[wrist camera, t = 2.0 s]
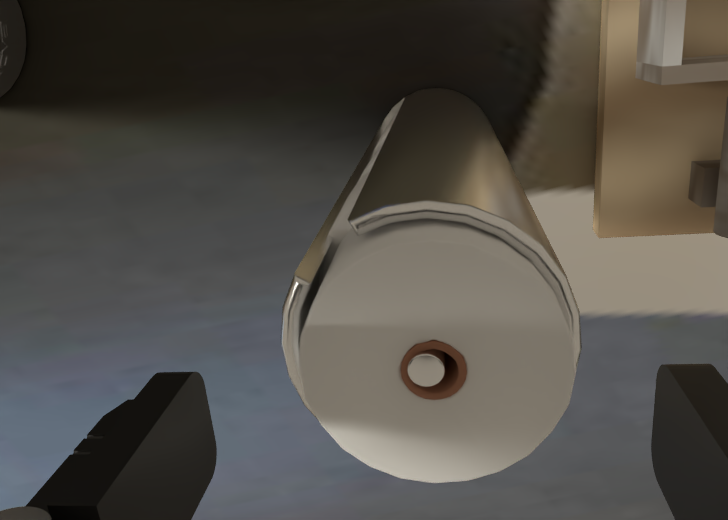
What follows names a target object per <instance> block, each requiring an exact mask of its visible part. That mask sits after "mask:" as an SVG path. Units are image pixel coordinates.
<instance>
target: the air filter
mask: <svg viewBox="0 0 728 520" xmlns="http://www.w3.org/2000/svg"><path fill="white" fill-rule="evenodd" d="M281 345H282V350H283V354H284V358H285V362H286V367H287V371H288V375H289V377H290V379H291V381H292V383H293V385H294V387H295V389H296V390H297V392H298V394H299V396H300V398H301V400H302V401H303V403H304V405H305V406H306V408H307V409H308V410H309V411H310V412H311V413H312V414H313V415H314V416H315V417H316V418H317V419H318V421H319V422H320V424H321V425H322V426H323V427H324V428H325V429H326V431H327V432H328V433H329V434H330V435H331V436H332V437H333V438H334V440H335V441H336V442H337V443H338V444H339V445H340V446H341V448H342V449H344V450H345V451H347V452H348V453H350V454H351V455H353V456H355V457H356V458H358V459H359V460H361V461H362V462H364V463H365V464H367V465H368V466H370V467H372V468H375V469H378V470H380V471H383V472H386V473H388V474H391V475H393V476H396V477H399V478H402V479H409V480H416V481H423V482H430V483H441V482H455V481H468V480H472V479H475V478H479V477H482V476H485V475H489V474H492V473H496V472H499V471H501V470H503V469H505V468H507V467H508V466H510V465H512V464H514V463H515V462H517V461H519V460H521V459H523V458H524V457H526V456H528V455H529V454H530V453H531V452H532V451H533V450H534V449H535V448H536V447H537V446H538V445H539V444H540V443H541V442H542V441H543V440H544V439H545V438H546V437H547V436H548V435H549V434H550V433H551V432H552V431H553V429H554V428H555V426H556V424H557V423H558V421H559V420H560V418H561V417H562V415H563V413H564V412H565V410H566V409H567V407H568V406H569V402H570V397H571V393H572V388H573V384H574V379H575V375H576V369H577V365H578V361H579V357H580V352H581V348H582V346H581V329H580V312H579V308H578V306H577V303H576V300H575V298H574V295H573V293H572V290H571V287H570V285H569V282H568V279H567V277H566V274H565V272H564V270H563V268H562V266H561V264H560V262H559V260H558V258H557V257H556V254H555V252H554V250H553V249H552V247H551V244H550V242H549V240H548V239H547V237H546V235H545V233H544V231H543V228H542V226H541V225H540V223H539V220H538V219H537V216H536V215H535V212H534V210H533V209H532V207H531V205H530V203H529V201H528V199H527V197H526V195H525V193H524V191H523V189H522V187H521V185H520V183H519V181H518V179H517V177H516V175H515V173H514V171H513V169H512V167H511V165H510V163H509V161H508V159H507V157H506V155H505V153H504V151H503V149H502V147H501V145H500V143H499V141H498V139H497V137H496V135H495V133H494V131H493V129H492V127H491V125H490V123H489V121H488V119H487V117H486V115H485V114H484V113H483V111H482V110H481V109H480V107H479V106H478V105H477V104H476V103H475V102H473V101H472V100H471V99H469V98H468V97H467V96H466V95H463V94H461V93H458V92H456V91H453V90H451V89H442V88H430V89H424V90H419V91H417V92H415V93H412V94H410V95H408V96H406V97H404V98H403V99H402V100H401V101H400V102H398V103H397V104H396V105H395V106H393V108H392V109H391V111H390V112H389V113H388V115H387V116H386V118H385V119H384V121H383V122H382V124H381V126H380V128H379V129H378V131H377V133H376V134H375V136H374V138H373V140H372V141H371V143H370V145H369V146H368V148H367V150H366V152H365V153H364V155H363V157H362V158H361V160H360V162H359V164H358V165H357V167H356V169H355V171H354V172H353V174H352V176H351V177H350V179H349V181H348V183H347V184H346V186H345V188H344V189H343V191H342V193H341V195H340V196H339V198H338V200H337V201H336V203H335V205H334V207H333V208H332V210H331V212H330V213H329V215H328V217H327V219H326V220H325V222H324V224H323V225H322V227H321V229H320V231H319V232H318V234H317V236H316V237H315V239H314V241H313V243H312V244H311V246H310V248H309V250H308V251H307V253H306V255H305V256H304V258H303V260H302V262H301V263H300V265H299V267H298V268H297V270H296V272H295V274H294V277H293V279H292V282H291V285H290V288H289V290H288V293H287V296H286V299H285V302H284V304H283V310H282V328H281Z"/></svg>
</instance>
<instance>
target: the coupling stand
mask: <svg viewBox="0 0 728 520" xmlns="http://www.w3.org/2000/svg"><path fill="white" fill-rule="evenodd" d="M593 230H594V232H595V233H596V234H597V236H598V237H599V238H609V237H631V236H654V235H674V234H675V235H676V234H697V233H698V234H699V233H715V234H717V235H719V236H722V237H726V238H728V0H602V5H601V32H600V58H599V85H598V111H597V138H596V164H595V190H594V217H593Z"/></svg>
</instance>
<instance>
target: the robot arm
mask: <svg viewBox="0 0 728 520" xmlns="http://www.w3.org/2000/svg"><path fill="white" fill-rule="evenodd" d="M25 52H26V29H25V23H24V19H23V16H22V12H21V8H20V6H19V3H18V1H17V0H0V97H1V96H3V95H4V94H5V93H6V92H7V91H8V90H9V89H11V87H12V86H13V84H14V83H15V81H16V80H17V78H18V77H19V74H20V72H21V69H22V66H23V63H24V60H25ZM651 451H652V461H653V467H654V472H655V476H656V479H657V481H658V484H659V486H660V488H661V490H662V492H663V495H664V497H665V499H666V501H667V503H668V505H669V507H670V509H671V512H672V514H673V516H674V518H675V520H728V384H727V382H726V381H725V380H724V379H723V377H722V376H721V375H720V374H719V372H718V371H717V370H716V368H715V367H714V366H713V365H711V364H669V365H661V366H660V368H659V370H658V373H657V379H656V391H655V404H654V417H653V430H652V443H651ZM216 455H217V451H216V441H215V436H214V430H213V425H212V420H211V415H210V410H209V405H208V400H207V395H206V389H205V385H204V381H203V378H202V376H201V375H200V374H199V373H198V372H163V373H156V374H155V375H154V376H153V377H152V378H151V379H150V380H149V382H148V383H147V384H146V385H145V387H144V388H143V389H142V390H141V391H140V393H139V394H138V395H137V396H136V398H135V399H134V400H127V401H125V402H124V403H122V404H121V405H119V406H118V407H116V408H115V409H113V410H112V411H110V412H109V413H107V414H106V415H104V416H103V417H102V418H101V419H100V421H99V422H98V423H97V424H96V425H95V426H94V428H93V429H92V430H91V431H90V432H89V433H88V435H87V439H83V440H82V441H81V443H80V444H79V445H78V446H77V447H76V448H75V450H74V454H73V455H69V457H68V458H67V459H66V460H65V461H64V462H63V463H62V465H61V466H60V467H59V468H58V469H57V470H56V472H55V473H54V474H53V475H52V476H51V477H50V478H49V480H48V481H47V482H46V483H45V484H44V485H43V487H42V488H41V489H40V490H39V491H38V492H37V494H36V495H35V496H34V497H33V498H32V499H31V500H30V502H29V503H28V504H27V505H26V506H25V507H15V508H10V509H6V510H3V511H0V520H191V519H192V517H193V515H194V513H195V511H196V509H197V507H198V505H199V503H200V501H201V499H202V497H203V495H204V493H205V491H206V489H207V487H208V485H209V483H210V481H211V479H212V477H213V474H214V470H215V465H216Z"/></svg>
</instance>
